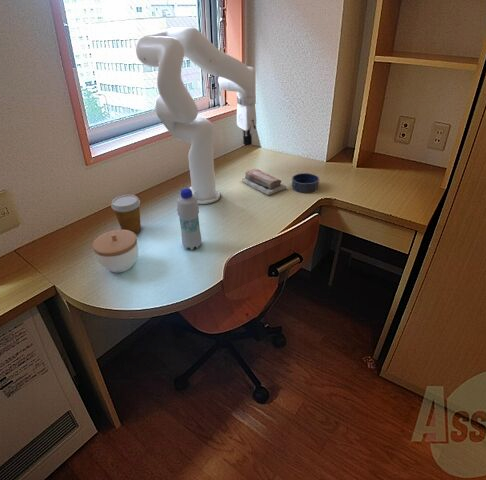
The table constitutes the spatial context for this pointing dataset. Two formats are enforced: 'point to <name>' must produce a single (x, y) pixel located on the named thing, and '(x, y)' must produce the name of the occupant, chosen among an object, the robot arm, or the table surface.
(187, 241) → the bottle
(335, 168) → the table surface
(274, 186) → the butter dish
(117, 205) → the disposable coffee cup
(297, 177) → the dark blue bowl
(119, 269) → the lidded bowl
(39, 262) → the table surface
